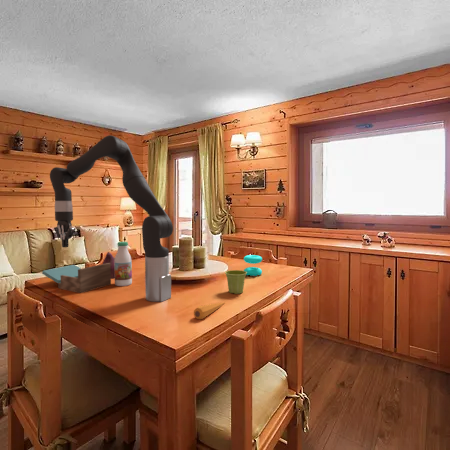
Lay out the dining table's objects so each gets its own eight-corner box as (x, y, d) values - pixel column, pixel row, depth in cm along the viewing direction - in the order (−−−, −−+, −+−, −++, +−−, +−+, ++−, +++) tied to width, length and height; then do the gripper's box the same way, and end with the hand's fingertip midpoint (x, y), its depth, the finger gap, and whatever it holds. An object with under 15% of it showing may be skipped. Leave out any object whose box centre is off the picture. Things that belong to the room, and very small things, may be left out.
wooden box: (110, 284, 143) (110, 263, 142) (80, 293, 129) (80, 269, 128) (89, 280, 150) (88, 260, 149) (58, 288, 135) (57, 266, 135)
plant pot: (221, 290, 134) (221, 270, 133) (240, 288, 138) (240, 269, 137) (230, 296, 125) (230, 275, 125) (250, 293, 129) (250, 273, 129)
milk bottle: (111, 284, 143) (110, 242, 141) (126, 281, 149) (126, 240, 147) (119, 287, 138) (119, 243, 136) (135, 284, 143) (134, 242, 142)
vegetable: (114, 285, 153) (113, 258, 148) (96, 281, 155) (94, 254, 150) (125, 275, 163) (124, 250, 158) (108, 272, 165) (106, 246, 159)
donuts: (243, 254, 169) (261, 254, 169) (243, 272, 170) (261, 272, 169) (244, 257, 159) (263, 257, 159) (243, 276, 160) (262, 276, 159)
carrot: (200, 323, 99) (205, 311, 98) (189, 316, 101) (194, 304, 100) (227, 310, 117) (232, 300, 116) (218, 304, 119) (222, 294, 118)
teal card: (89, 273, 149) (73, 264, 154) (58, 280, 135) (42, 270, 140) (88, 277, 150) (73, 269, 155) (57, 285, 135) (41, 275, 141)
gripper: (80, 210, 143) (81, 247, 145) (62, 210, 149) (63, 245, 151) (65, 210, 137) (67, 249, 138) (47, 210, 143) (48, 247, 144)
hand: (65, 247), depth 144 cm, fingers closed
